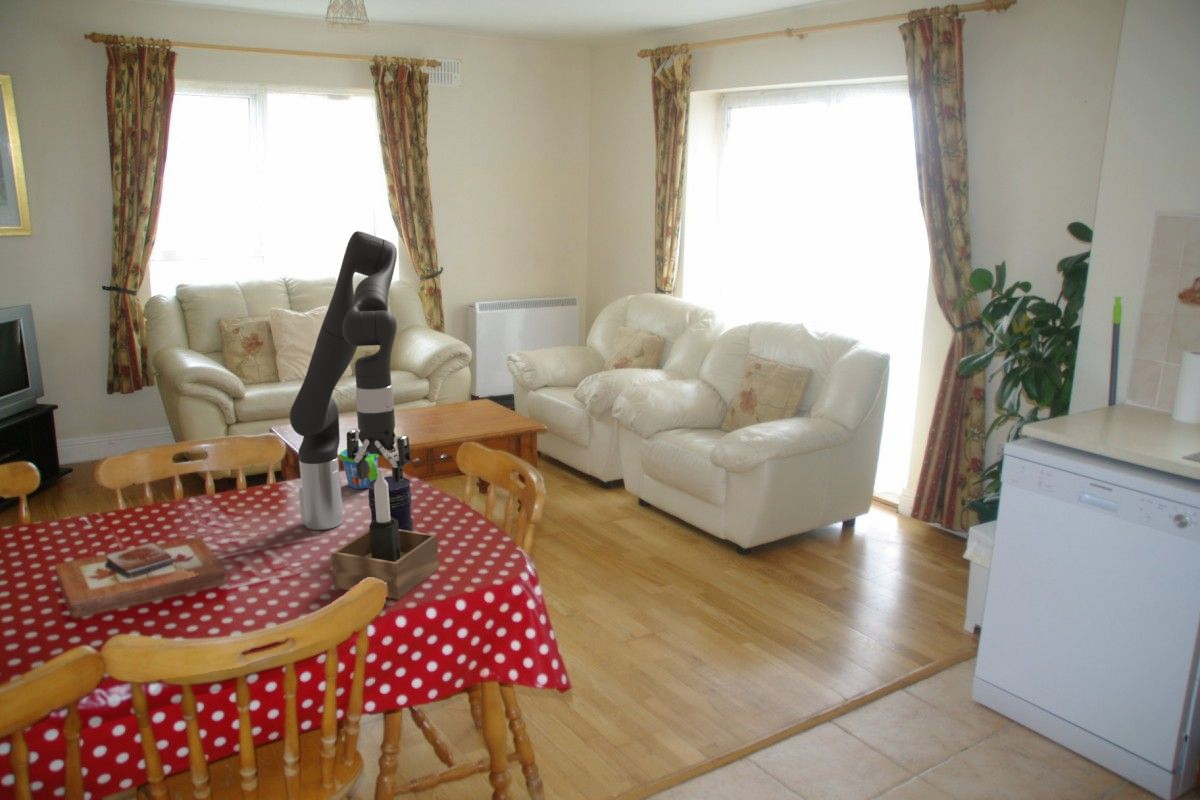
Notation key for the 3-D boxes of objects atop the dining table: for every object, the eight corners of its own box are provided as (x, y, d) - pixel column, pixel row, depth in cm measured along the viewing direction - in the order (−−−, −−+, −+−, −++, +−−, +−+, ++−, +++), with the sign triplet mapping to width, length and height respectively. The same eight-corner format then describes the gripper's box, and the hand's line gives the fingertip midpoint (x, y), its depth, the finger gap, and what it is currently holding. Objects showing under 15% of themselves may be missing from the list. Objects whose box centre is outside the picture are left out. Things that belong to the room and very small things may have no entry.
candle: (393, 583, 193) (385, 473, 187) (371, 581, 194) (363, 472, 188) (403, 573, 198) (396, 465, 192) (381, 571, 199) (373, 464, 193)
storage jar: (377, 553, 208) (373, 493, 204) (367, 538, 217) (362, 480, 213) (419, 545, 213) (415, 485, 209) (407, 531, 221) (404, 473, 217)
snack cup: (335, 481, 257) (332, 447, 254) (370, 474, 263) (368, 441, 260) (353, 497, 244) (350, 461, 242) (390, 489, 250) (388, 454, 248)
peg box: (334, 587, 191) (331, 552, 189) (378, 558, 206) (375, 525, 204) (398, 599, 186) (396, 564, 184) (438, 568, 200) (437, 535, 198)
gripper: (335, 408, 185) (341, 482, 189) (394, 414, 180) (399, 490, 184) (357, 399, 192) (362, 471, 196) (414, 405, 187) (418, 479, 191)
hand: (380, 480), depth 190 cm, fingers open, 8 cm apart
